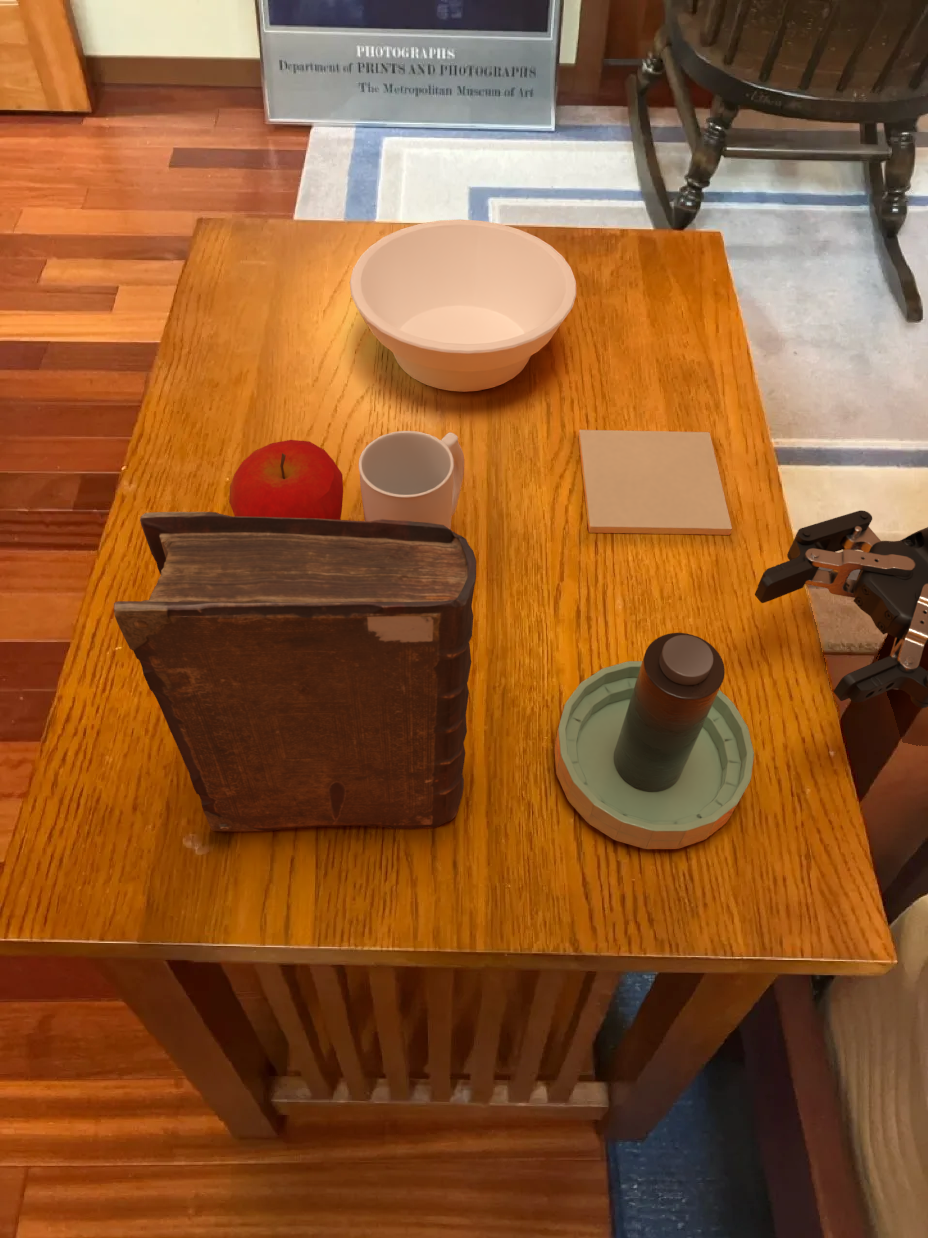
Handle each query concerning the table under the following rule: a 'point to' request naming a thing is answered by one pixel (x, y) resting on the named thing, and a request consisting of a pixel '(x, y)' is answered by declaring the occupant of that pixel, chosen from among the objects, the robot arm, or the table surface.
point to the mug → (411, 477)
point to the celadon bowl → (637, 814)
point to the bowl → (462, 300)
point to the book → (310, 666)
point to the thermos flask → (667, 710)
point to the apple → (288, 483)
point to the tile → (652, 483)
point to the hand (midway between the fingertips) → (799, 638)
